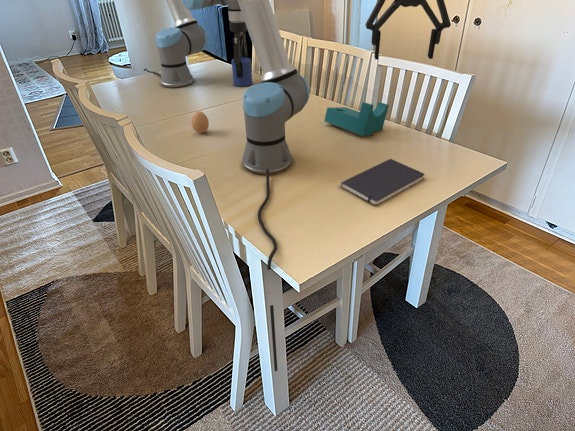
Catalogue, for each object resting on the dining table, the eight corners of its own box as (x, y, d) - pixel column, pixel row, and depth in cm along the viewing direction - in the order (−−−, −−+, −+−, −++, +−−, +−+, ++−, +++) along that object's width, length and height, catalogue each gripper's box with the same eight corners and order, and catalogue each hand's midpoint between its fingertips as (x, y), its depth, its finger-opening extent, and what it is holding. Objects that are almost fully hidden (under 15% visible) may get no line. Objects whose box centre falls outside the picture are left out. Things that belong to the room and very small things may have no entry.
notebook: (389, 163, 124) (340, 187, 113) (390, 158, 123) (341, 182, 112) (424, 178, 116) (375, 206, 105) (425, 174, 115) (376, 201, 104)
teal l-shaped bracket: (380, 134, 144) (388, 104, 140) (363, 135, 137) (370, 104, 132) (342, 120, 155) (349, 92, 151) (324, 121, 148) (330, 92, 143)
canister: (239, 79, 195) (237, 56, 188) (255, 81, 192) (254, 58, 186) (230, 85, 188) (227, 61, 182) (246, 87, 185) (245, 63, 179)
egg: (195, 137, 143) (191, 115, 138) (191, 131, 147) (187, 110, 142) (211, 134, 144) (208, 112, 140) (207, 127, 149) (204, 107, 144)
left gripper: (241, 26, 165) (245, 81, 178) (251, 16, 182) (254, 67, 196) (223, 26, 166) (228, 81, 179) (235, 16, 183) (239, 67, 197)
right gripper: (467, -43, 94) (449, 53, 106) (359, -39, 96) (353, 54, 108) (477, -40, 88) (456, 61, 100) (361, -37, 90) (355, 62, 102)
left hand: (242, 74), depth 187 cm, fingers closed on canister, 9 cm apart
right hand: (402, 58), depth 104 cm, fingers open, 13 cm apart
